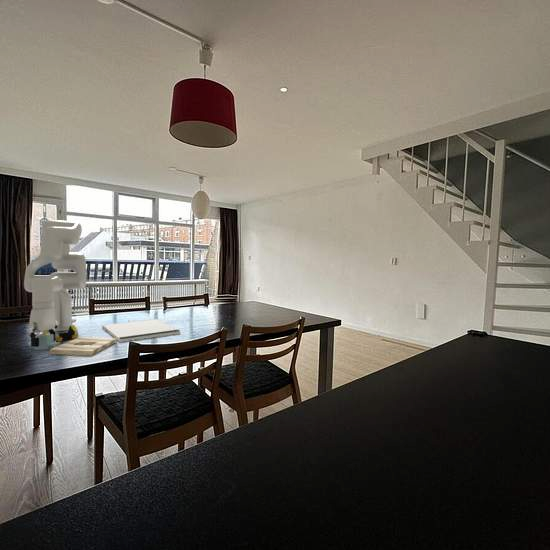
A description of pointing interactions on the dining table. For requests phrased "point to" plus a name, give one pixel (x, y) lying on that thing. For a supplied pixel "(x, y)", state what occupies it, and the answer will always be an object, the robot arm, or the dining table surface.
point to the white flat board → (139, 329)
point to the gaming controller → (66, 334)
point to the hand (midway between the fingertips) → (43, 343)
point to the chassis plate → (78, 346)
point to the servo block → (45, 341)
